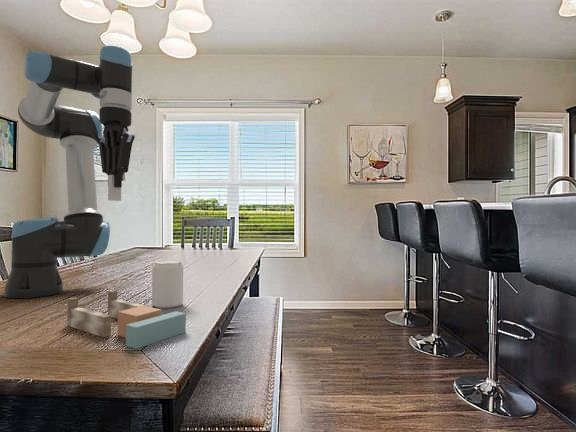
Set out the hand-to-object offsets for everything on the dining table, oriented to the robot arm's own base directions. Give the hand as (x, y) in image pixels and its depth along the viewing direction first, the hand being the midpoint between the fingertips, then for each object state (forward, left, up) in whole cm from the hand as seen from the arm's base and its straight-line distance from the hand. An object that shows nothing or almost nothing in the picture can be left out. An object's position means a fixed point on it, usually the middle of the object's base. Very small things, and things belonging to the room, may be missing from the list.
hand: (114, 200), depth 96 cm
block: (+22, -8, -29) cm, 37 cm away
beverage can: (+7, +11, -29) cm, 32 cm away
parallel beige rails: (+11, -8, -28) cm, 31 cm away
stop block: (+28, -8, -28) cm, 40 cm away
